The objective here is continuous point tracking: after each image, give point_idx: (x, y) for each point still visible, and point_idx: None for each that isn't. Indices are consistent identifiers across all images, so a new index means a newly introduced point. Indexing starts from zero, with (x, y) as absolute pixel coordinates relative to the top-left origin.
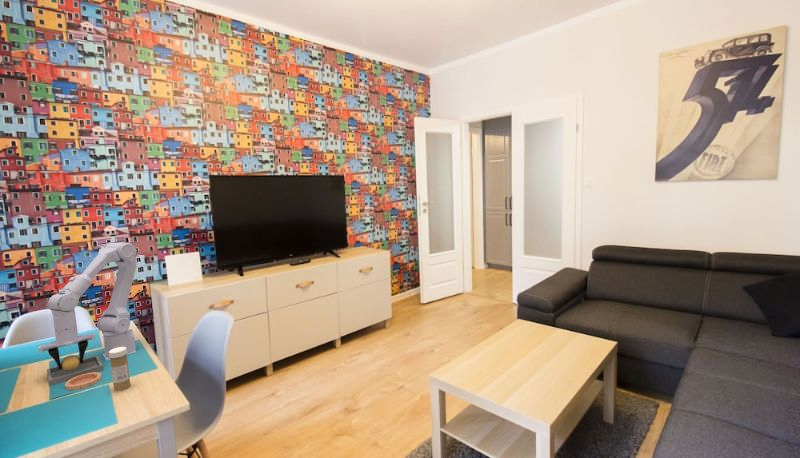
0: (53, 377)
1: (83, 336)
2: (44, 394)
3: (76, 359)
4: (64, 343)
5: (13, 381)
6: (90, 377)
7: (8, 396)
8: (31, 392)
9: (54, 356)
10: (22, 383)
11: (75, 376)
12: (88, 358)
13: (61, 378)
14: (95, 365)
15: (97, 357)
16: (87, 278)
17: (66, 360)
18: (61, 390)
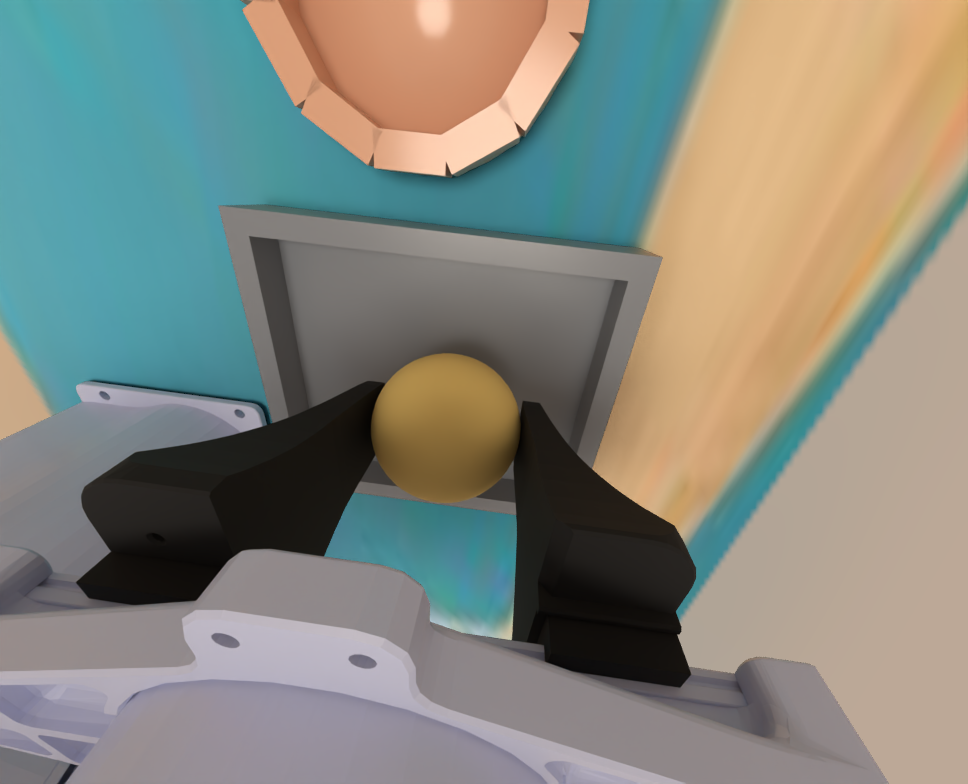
0: (571, 395)
1: (42, 723)
2: (738, 92)
3: (391, 398)
4: (413, 687)
5: (698, 549)
6: (356, 100)
7: (854, 351)
8: (753, 274)
9: (601, 493)
10: (691, 489)
11: (458, 231)
12: None
13: (563, 244)
14: (316, 364)
15: None
16: None
17: (476, 420)
18: (615, 33)
